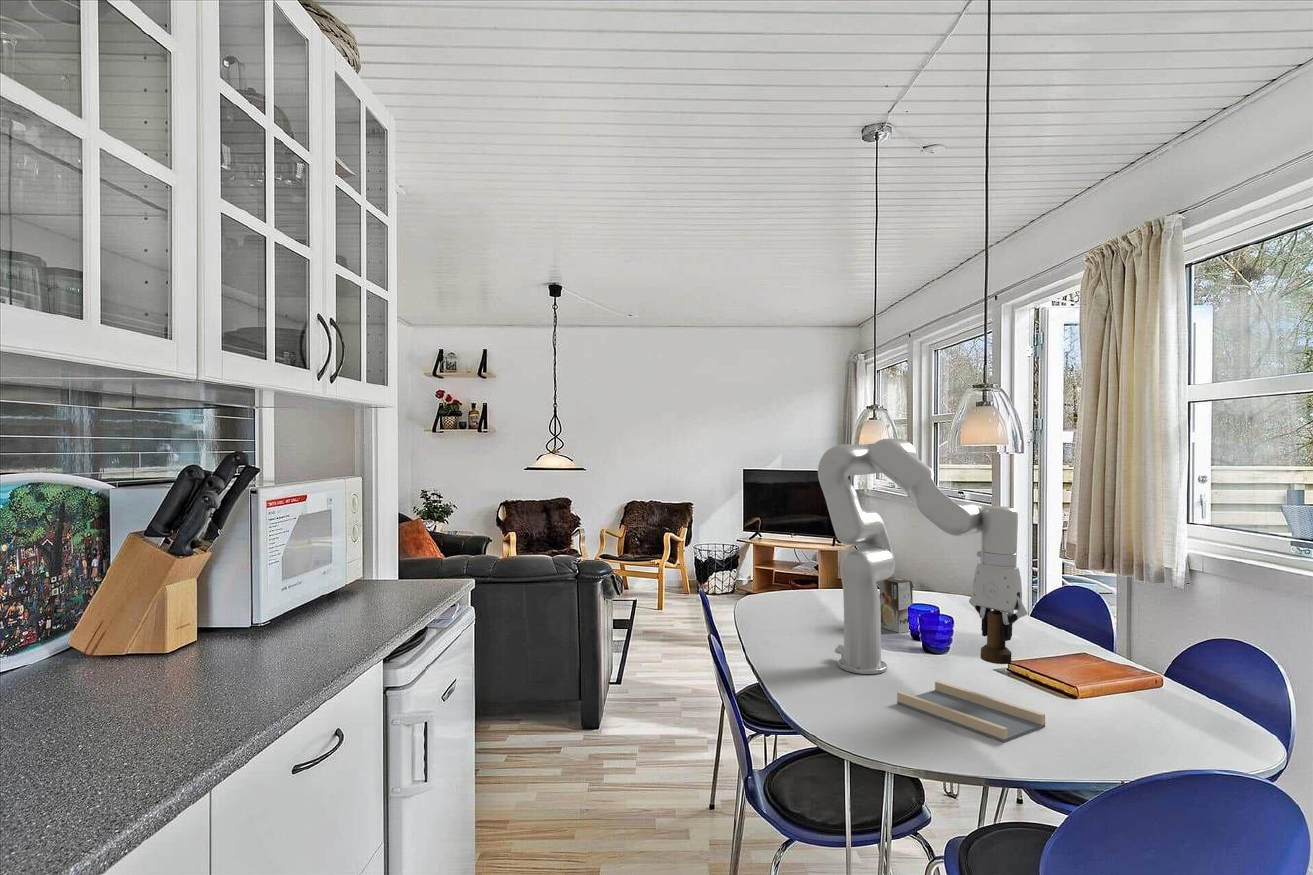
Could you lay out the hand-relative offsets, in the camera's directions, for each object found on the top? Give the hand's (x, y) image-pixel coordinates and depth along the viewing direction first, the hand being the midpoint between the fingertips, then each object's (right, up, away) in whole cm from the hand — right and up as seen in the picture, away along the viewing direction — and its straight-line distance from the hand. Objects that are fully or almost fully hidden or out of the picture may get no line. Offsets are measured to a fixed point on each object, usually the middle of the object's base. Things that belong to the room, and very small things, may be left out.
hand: (996, 637), depth 168 cm
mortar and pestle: (0, -6, 0) cm, 6 cm away
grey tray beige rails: (-11, -15, -9) cm, 20 cm away
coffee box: (-2, -16, +66) cm, 67 cm away
